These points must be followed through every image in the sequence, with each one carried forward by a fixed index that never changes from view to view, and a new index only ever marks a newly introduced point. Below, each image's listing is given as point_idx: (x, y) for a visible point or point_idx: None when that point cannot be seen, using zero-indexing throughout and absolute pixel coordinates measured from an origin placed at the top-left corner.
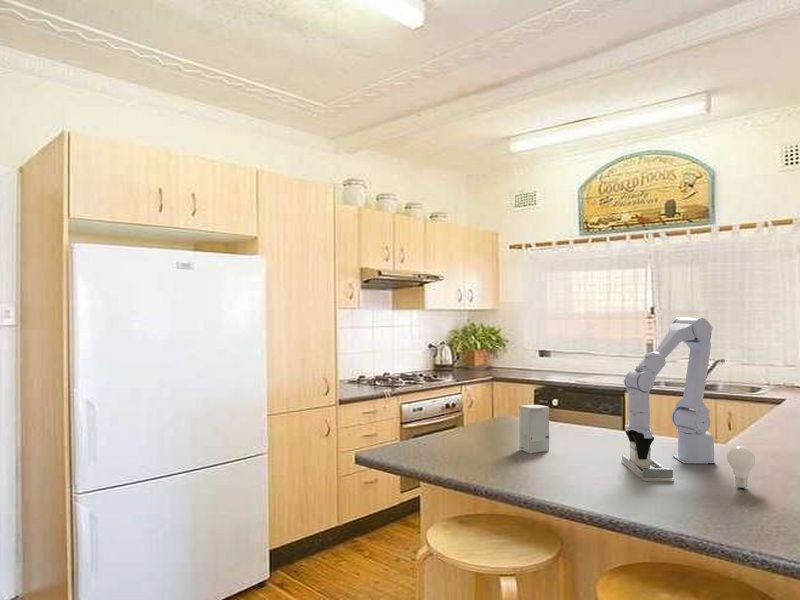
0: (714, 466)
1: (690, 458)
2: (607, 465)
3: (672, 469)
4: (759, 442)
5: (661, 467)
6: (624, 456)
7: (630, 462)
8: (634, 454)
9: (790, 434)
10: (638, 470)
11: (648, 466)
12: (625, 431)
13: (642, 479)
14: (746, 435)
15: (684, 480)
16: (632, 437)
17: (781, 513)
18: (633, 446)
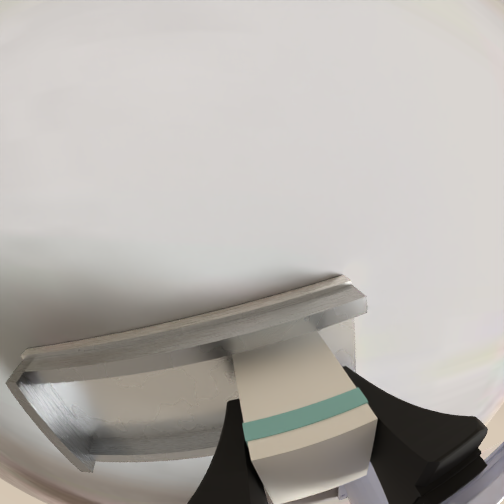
0: (317, 499)
1: (350, 482)
2: (250, 178)
3: (80, 470)
4: None
5: (151, 453)
6: (333, 311)
7: (195, 343)
8: (245, 398)
9: None
10: (72, 360)
11: None
12: (472, 434)
13: (36, 348)
14: (484, 451)
15: (125, 463)
16: (396, 455)
17: (31, 492)
18: (279, 436)
